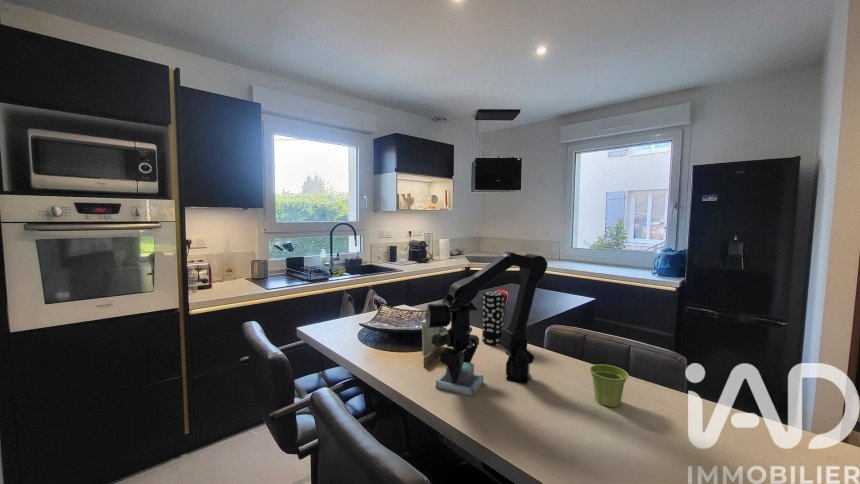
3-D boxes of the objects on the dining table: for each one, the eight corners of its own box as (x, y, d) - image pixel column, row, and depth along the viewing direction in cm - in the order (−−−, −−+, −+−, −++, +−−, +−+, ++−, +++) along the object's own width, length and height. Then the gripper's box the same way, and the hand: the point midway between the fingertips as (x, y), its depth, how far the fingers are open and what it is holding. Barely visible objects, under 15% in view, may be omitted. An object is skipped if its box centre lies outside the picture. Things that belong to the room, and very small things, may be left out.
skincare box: (439, 350, 133) (439, 319, 133) (438, 355, 129) (439, 322, 128) (422, 349, 134) (422, 318, 133) (421, 354, 130) (421, 321, 129)
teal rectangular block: (473, 381, 107) (473, 363, 106) (468, 389, 102) (468, 370, 102) (452, 377, 110) (452, 359, 109) (446, 384, 105) (446, 365, 105)
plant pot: (606, 413, 91) (607, 381, 90) (581, 395, 100) (582, 366, 99) (635, 408, 93) (636, 376, 92) (608, 391, 102) (609, 362, 102)
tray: (483, 382, 108) (483, 375, 108) (473, 396, 99) (473, 389, 99) (448, 374, 113) (448, 368, 112) (435, 387, 104) (435, 381, 104)
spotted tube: (478, 339, 145) (479, 292, 144) (496, 337, 148) (497, 290, 147) (488, 346, 138) (488, 296, 136) (506, 344, 140) (507, 295, 139)
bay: (466, 360, 124) (466, 350, 124) (453, 373, 114) (454, 363, 113) (438, 354, 129) (438, 345, 129) (423, 367, 118) (423, 357, 118)
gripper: (447, 314, 116) (447, 360, 118) (422, 330, 100) (422, 383, 101) (479, 318, 112) (479, 366, 113) (459, 336, 95) (458, 391, 96)
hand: (460, 375), depth 106 cm, fingers open, 9 cm apart
